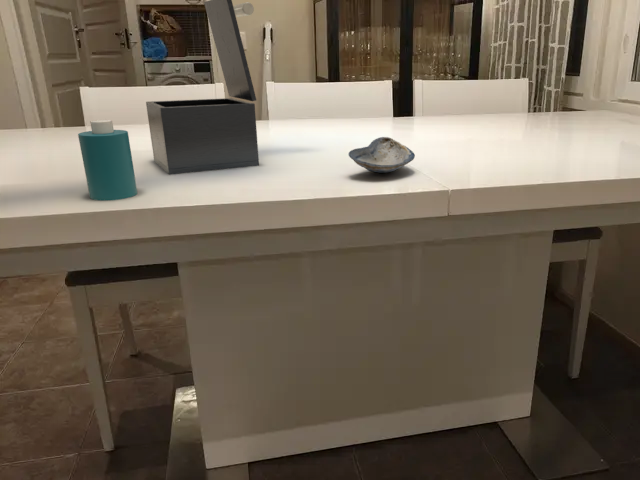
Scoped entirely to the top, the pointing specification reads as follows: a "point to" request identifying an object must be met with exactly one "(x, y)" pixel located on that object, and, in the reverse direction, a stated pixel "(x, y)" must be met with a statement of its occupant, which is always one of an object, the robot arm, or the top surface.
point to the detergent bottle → (107, 162)
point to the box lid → (231, 45)
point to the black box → (203, 134)
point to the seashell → (382, 155)
